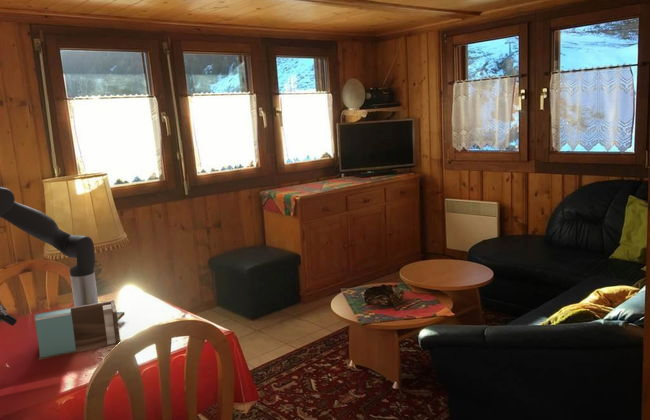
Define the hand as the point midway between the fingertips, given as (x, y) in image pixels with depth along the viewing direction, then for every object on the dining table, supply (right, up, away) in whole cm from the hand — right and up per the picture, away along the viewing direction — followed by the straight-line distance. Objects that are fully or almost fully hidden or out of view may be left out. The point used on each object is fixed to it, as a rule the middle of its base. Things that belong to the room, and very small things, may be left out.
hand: (15, 322), depth 184 cm
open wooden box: (+16, -12, +13) cm, 24 cm away
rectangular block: (+11, -12, +7) cm, 17 cm away
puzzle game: (+13, -9, +32) cm, 36 cm away
